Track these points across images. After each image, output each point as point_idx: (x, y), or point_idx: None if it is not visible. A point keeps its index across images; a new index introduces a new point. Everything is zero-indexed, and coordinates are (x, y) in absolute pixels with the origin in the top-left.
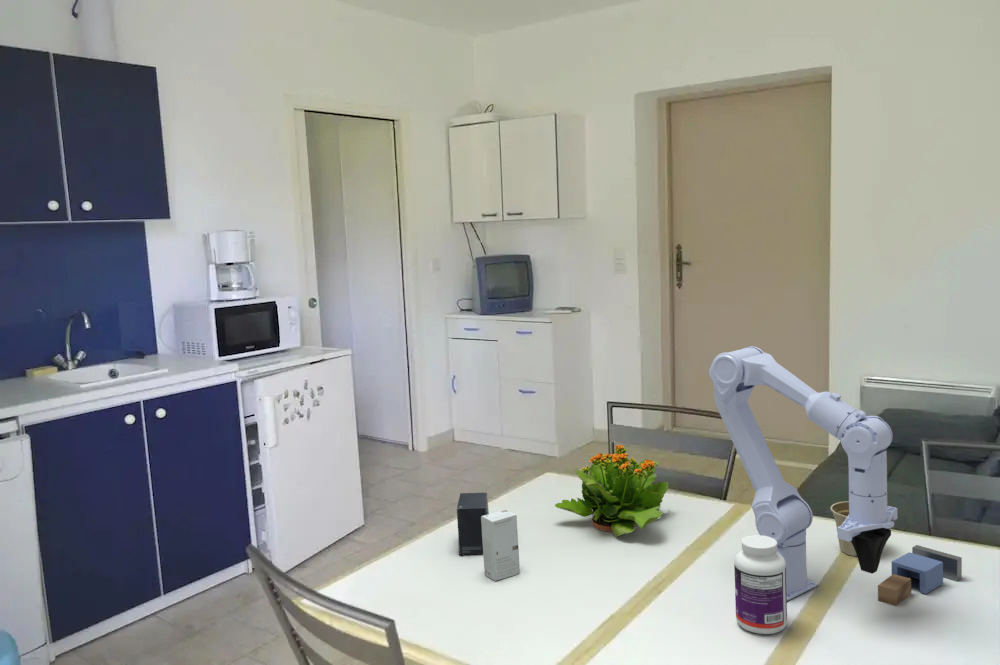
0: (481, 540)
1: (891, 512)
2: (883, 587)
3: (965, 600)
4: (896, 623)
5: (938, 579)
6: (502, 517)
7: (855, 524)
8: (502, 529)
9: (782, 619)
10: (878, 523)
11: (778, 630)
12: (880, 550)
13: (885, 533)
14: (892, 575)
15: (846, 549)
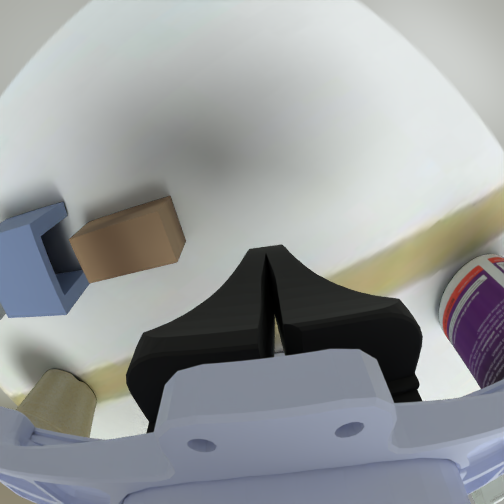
0: None
1: (27, 478)
2: (171, 245)
3: (17, 138)
4: (256, 127)
5: (9, 221)
6: (497, 501)
7: (492, 461)
8: (497, 491)
9: (498, 263)
10: (402, 460)
11: (493, 254)
12: (246, 289)
13: (248, 350)
14: (96, 279)
15: (92, 400)
